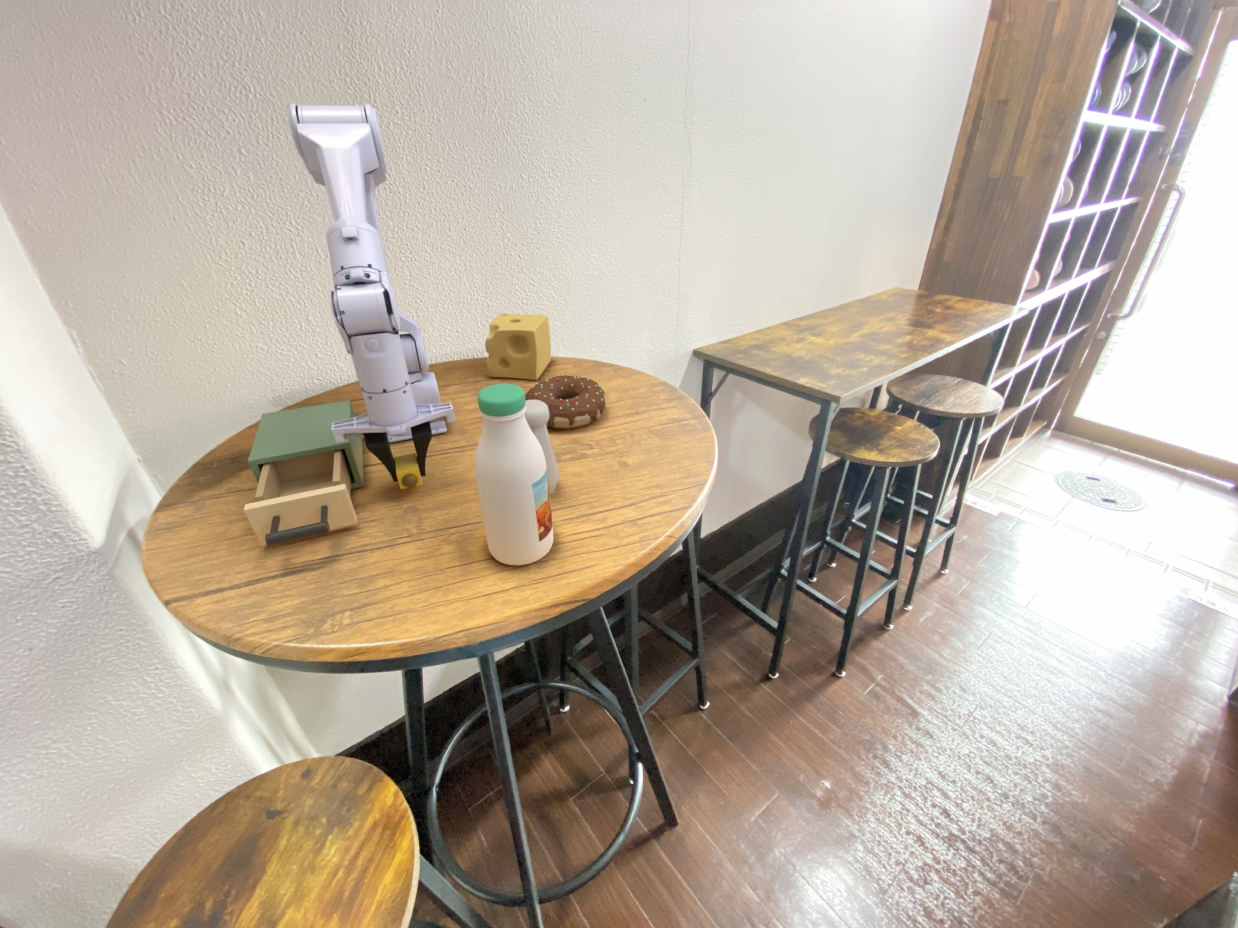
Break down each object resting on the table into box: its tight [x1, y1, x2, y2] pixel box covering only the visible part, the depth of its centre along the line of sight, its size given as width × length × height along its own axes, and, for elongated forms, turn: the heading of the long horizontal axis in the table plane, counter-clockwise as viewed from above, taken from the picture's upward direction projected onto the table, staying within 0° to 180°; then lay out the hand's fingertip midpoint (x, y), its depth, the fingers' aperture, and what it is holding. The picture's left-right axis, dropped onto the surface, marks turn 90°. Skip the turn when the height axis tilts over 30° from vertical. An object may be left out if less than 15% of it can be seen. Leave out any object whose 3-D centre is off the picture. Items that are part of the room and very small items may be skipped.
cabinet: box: [247, 399, 364, 490], centre depth 75 cm, size 14×12×7 cm
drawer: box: [243, 449, 358, 547], centre depth 65 cm, size 17×10×5 cm, turn 23°
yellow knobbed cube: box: [393, 452, 423, 490], centre depth 72 cm, size 3×6×3 cm, turn 23°
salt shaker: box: [524, 400, 561, 496], centre depth 69 cm, size 6×6×13 cm
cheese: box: [484, 312, 552, 381], centre depth 105 cm, size 10×11×10 cm
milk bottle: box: [474, 382, 554, 566], centre depth 58 cm, size 8×8×20 cm
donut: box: [525, 374, 607, 430], centre depth 90 cm, size 14×14×5 cm
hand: (409, 475), depth 73 cm, fingers closed on yellow knobbed cube, 3 cm apart
